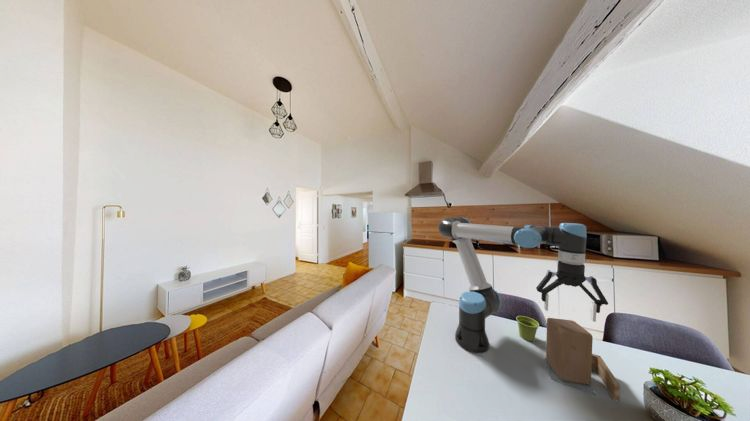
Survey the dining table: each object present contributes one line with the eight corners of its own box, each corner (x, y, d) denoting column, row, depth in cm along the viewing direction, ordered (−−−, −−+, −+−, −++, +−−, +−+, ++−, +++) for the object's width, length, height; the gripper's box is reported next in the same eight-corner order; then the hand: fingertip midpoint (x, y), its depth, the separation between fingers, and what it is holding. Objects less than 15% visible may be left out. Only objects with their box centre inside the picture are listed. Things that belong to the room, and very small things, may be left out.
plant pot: (539, 336, 101) (539, 320, 100) (538, 346, 94) (538, 329, 93) (516, 329, 107) (517, 313, 106) (514, 338, 100) (515, 321, 99)
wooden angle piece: (554, 378, 77) (554, 363, 76) (545, 353, 90) (546, 340, 89) (619, 401, 68) (619, 385, 67) (599, 370, 80) (600, 356, 80)
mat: (551, 379, 76) (551, 378, 76) (544, 358, 86) (544, 357, 86) (595, 394, 70) (595, 394, 70) (582, 370, 80) (582, 370, 80)
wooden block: (560, 381, 75) (562, 331, 74) (544, 361, 85) (545, 316, 84) (592, 387, 73) (594, 335, 72) (572, 365, 82) (573, 319, 82)
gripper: (532, 259, 80) (530, 309, 81) (624, 271, 67) (620, 330, 68) (529, 255, 87) (527, 301, 87) (613, 265, 73) (610, 319, 74)
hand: (568, 314), depth 78 cm, fingers open, 13 cm apart
